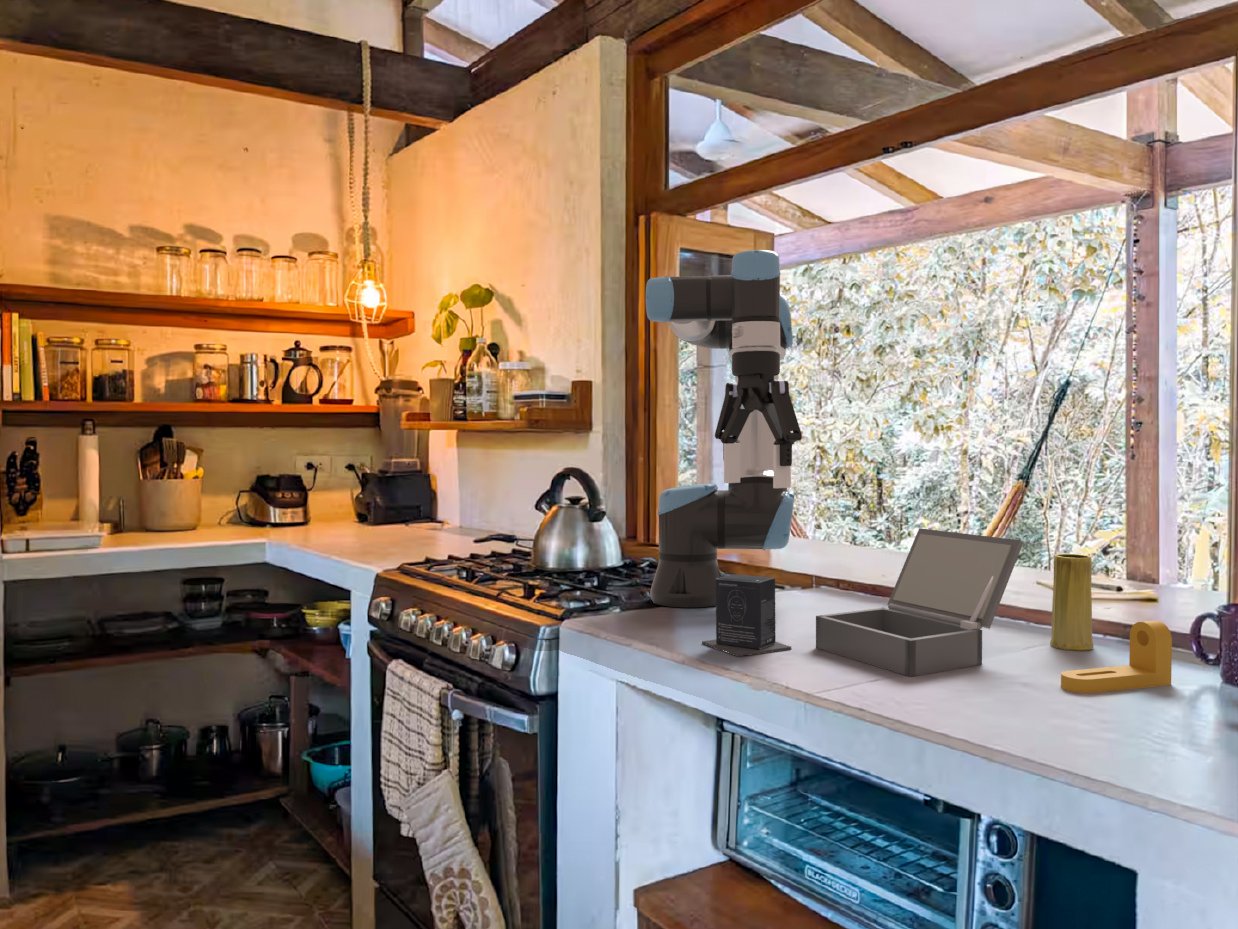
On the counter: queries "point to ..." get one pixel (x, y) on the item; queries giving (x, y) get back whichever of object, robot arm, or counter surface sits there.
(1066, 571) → the vase
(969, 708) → the counter surface
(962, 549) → the case
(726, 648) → the mat
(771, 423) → the robot arm
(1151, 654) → the bracket
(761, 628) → the box
